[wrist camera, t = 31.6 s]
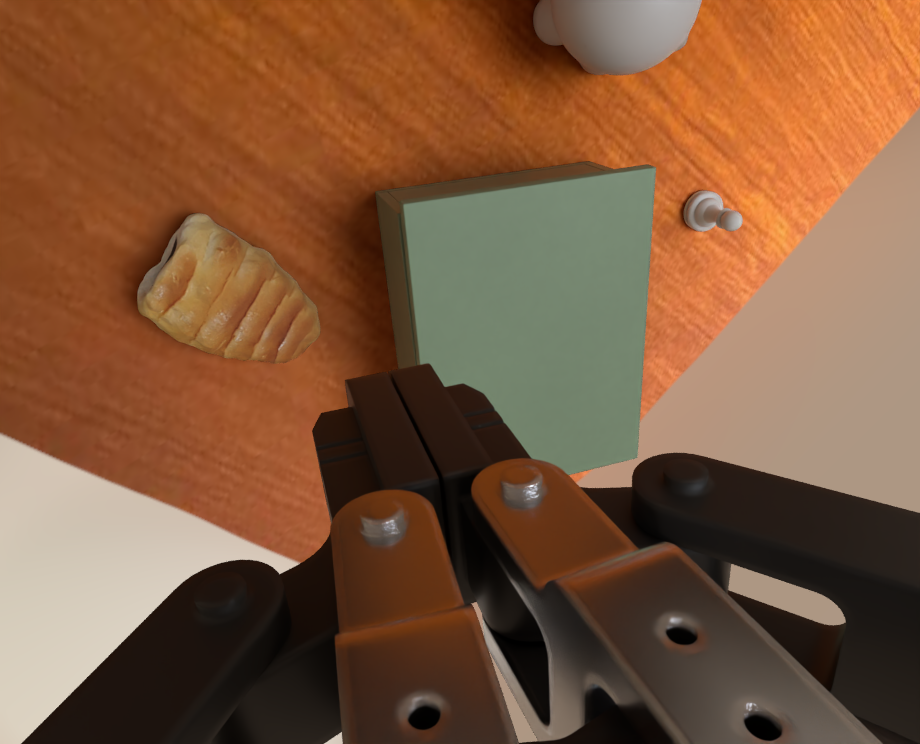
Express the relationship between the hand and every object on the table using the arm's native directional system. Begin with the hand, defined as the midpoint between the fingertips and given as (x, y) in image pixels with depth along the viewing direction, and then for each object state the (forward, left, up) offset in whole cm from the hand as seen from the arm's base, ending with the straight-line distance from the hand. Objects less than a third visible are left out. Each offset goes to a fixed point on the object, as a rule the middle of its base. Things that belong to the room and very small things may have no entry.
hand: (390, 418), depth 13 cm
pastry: (+6, -4, -29) cm, 30 cm away
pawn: (+6, +26, -29) cm, 39 cm away
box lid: (+10, +11, -23) cm, 27 cm away
